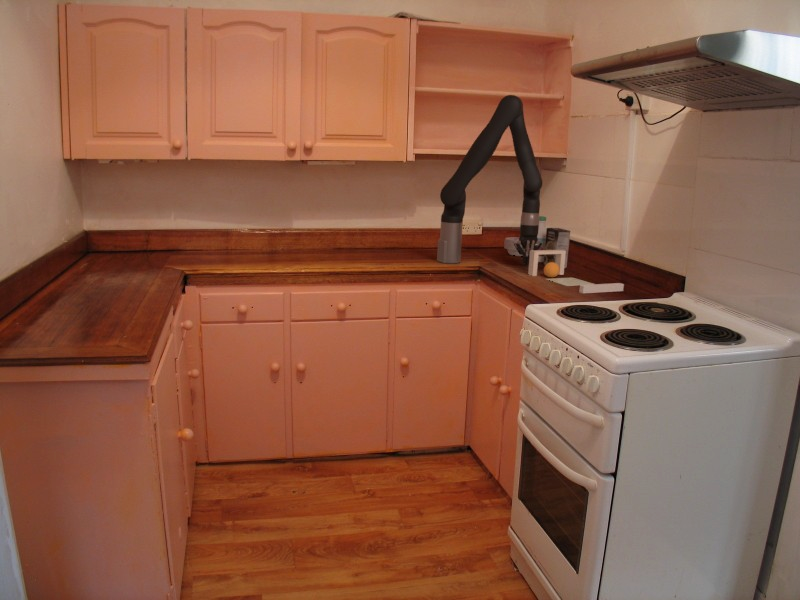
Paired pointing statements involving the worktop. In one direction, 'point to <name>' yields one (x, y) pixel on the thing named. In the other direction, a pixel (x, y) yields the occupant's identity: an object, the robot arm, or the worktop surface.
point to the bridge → (535, 253)
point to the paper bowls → (512, 245)
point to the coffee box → (556, 243)
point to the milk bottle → (542, 236)
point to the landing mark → (570, 281)
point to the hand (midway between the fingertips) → (526, 265)
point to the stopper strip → (601, 288)
